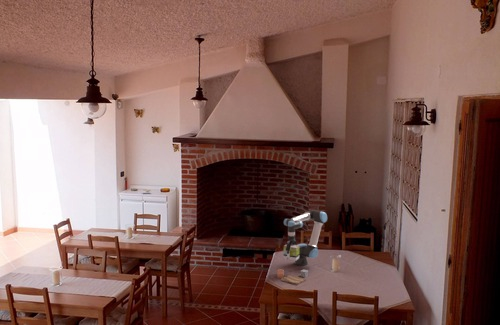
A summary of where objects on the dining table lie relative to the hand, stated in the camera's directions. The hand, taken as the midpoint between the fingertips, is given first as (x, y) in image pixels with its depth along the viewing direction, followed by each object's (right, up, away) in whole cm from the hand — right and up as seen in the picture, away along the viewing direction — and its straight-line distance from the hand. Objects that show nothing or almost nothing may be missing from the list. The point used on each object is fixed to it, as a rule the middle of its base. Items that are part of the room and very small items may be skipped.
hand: (291, 255), depth 486 cm
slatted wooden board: (0, -23, -17) cm, 29 cm away
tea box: (0, -4, +1) cm, 4 cm away
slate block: (+14, -22, -5) cm, 26 cm away
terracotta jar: (-12, -22, -8) cm, 27 cm away
